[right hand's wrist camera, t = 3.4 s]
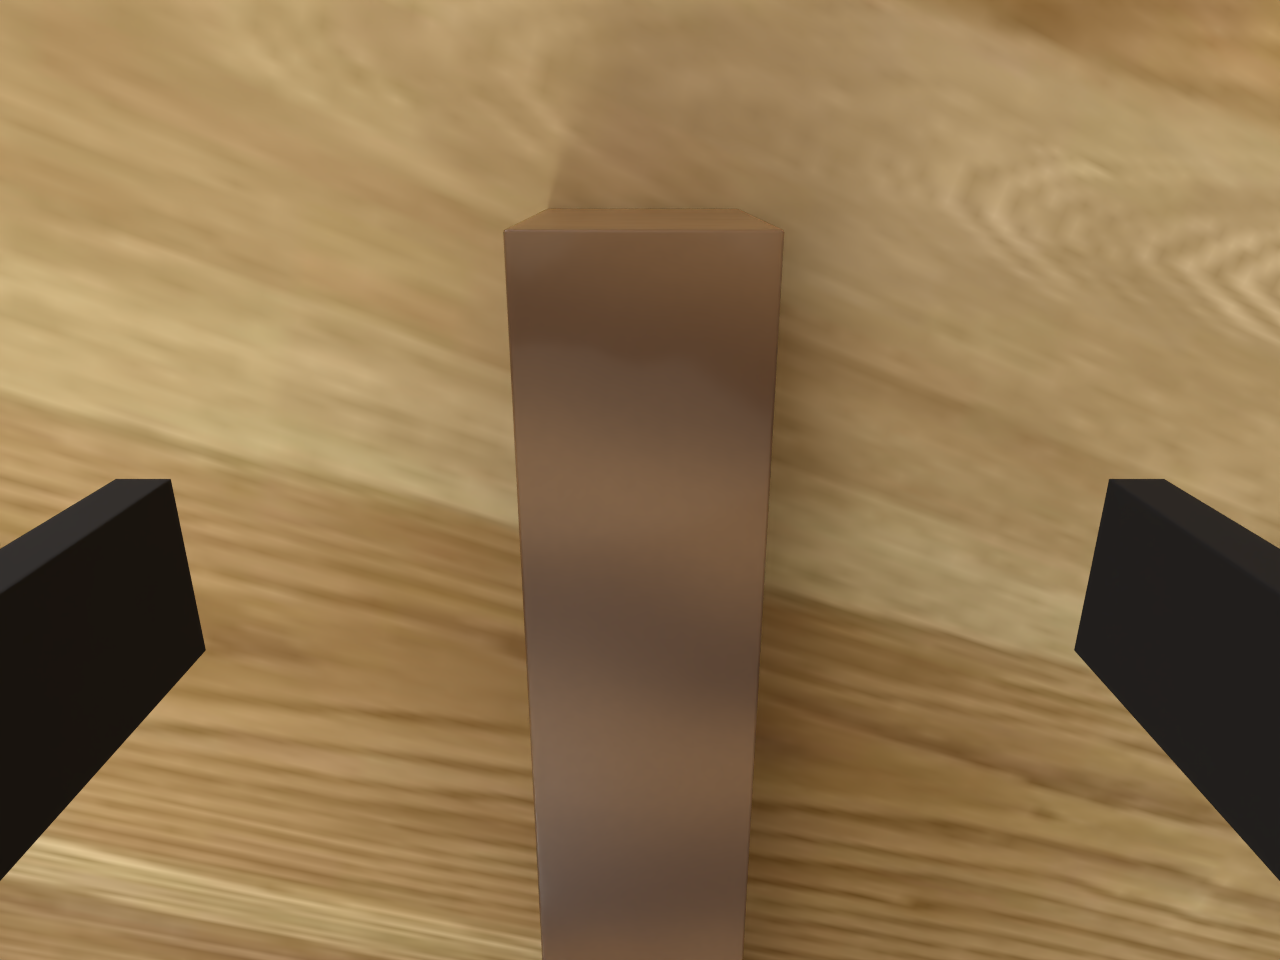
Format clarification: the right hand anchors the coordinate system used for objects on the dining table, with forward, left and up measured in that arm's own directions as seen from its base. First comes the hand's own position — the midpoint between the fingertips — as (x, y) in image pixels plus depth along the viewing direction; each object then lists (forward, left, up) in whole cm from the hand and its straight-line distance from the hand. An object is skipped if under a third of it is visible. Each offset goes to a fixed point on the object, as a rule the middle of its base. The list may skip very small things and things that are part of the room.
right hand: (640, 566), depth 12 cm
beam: (-13, +22, -14) cm, 29 cm away
